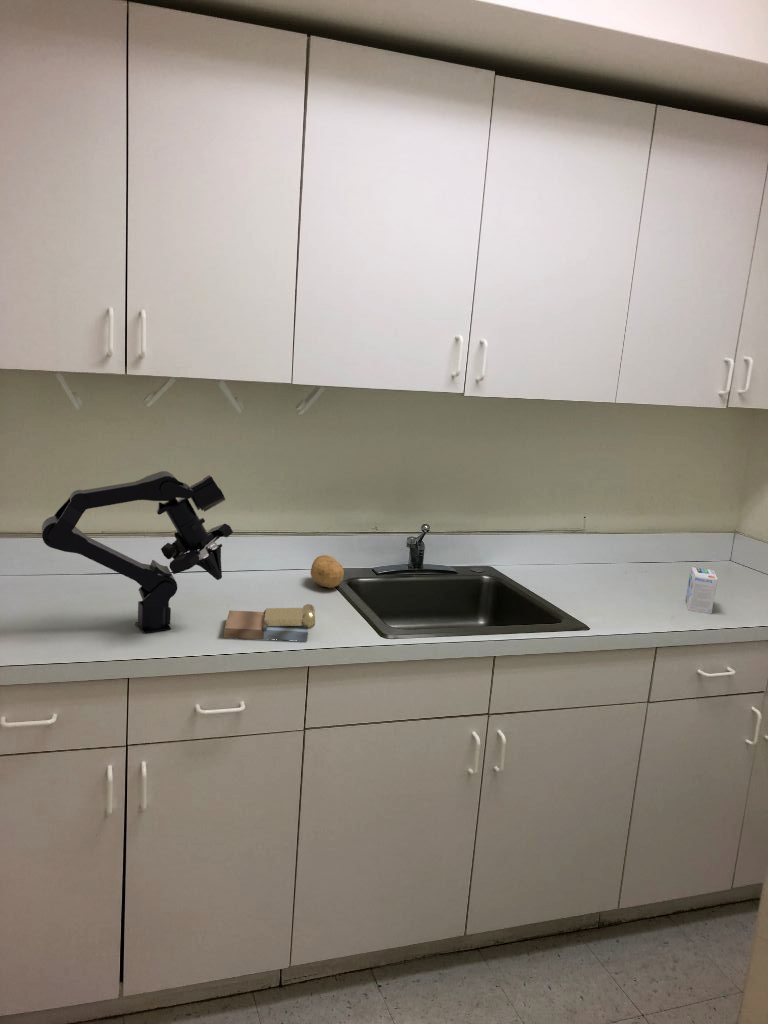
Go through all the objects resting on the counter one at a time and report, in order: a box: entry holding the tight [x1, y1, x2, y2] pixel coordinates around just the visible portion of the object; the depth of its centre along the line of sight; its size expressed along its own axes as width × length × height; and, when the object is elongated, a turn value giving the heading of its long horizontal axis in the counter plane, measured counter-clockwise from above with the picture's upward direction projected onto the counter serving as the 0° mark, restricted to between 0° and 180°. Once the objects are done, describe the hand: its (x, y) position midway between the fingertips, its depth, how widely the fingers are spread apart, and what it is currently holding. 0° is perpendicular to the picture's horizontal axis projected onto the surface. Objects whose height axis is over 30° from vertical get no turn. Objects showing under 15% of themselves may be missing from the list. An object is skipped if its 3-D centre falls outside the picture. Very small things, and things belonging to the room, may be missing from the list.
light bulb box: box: [684, 566, 719, 615], centre depth 240 cm, size 11×7×11 cm, turn 165°
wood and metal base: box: [223, 609, 308, 642], centre depth 193 cm, size 19×12×3 cm, turn 96°
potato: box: [310, 554, 345, 589], centre depth 230 cm, size 10×14×8 cm
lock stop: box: [264, 603, 316, 630], centre depth 193 cm, size 3×8×12 cm
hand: (219, 578), depth 190 cm, fingers closed
